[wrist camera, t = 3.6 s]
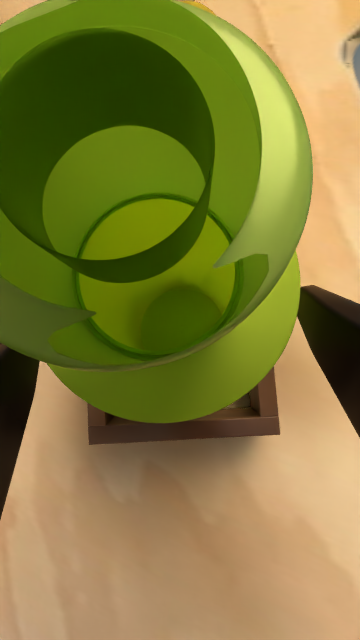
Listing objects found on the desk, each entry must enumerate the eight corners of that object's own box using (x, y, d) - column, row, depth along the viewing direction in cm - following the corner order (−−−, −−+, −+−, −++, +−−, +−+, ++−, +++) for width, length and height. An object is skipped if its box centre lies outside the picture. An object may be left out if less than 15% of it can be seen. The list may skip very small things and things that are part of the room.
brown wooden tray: (265, 420, 18) (280, 434, 15) (104, 428, 18) (88, 445, 15) (249, 248, 19) (261, 230, 16) (99, 259, 19) (82, 243, 16)
